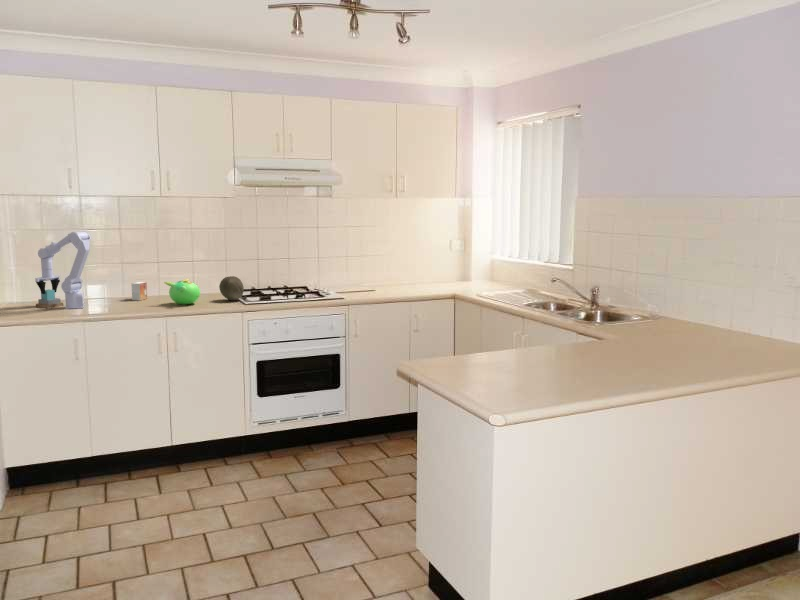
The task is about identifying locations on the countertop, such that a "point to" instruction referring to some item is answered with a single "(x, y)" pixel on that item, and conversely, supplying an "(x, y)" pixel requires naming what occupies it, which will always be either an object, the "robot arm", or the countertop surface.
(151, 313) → the countertop surface
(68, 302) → the robot arm
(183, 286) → the toy bird
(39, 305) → the walnut base slab
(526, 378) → the countertop surface
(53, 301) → the grey top slab
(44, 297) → the teal block
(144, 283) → the small box
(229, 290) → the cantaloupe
